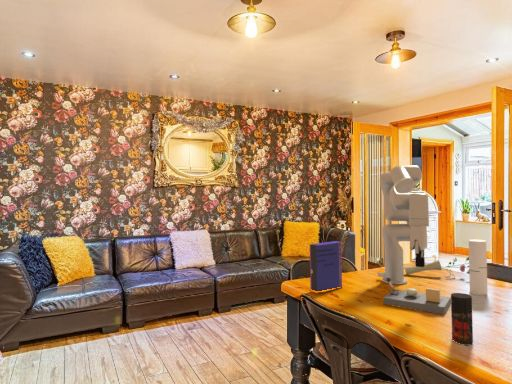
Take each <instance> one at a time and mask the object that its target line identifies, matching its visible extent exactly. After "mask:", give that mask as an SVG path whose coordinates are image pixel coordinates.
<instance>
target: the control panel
mask: <svg viewBox="0 0 512 384" xmlns="http://www.w3.org/2000/svg"><path fill="white" fill-rule="evenodd" d="M394 290H395V291H392V290H391V291H389V292H388V293H387V294H386V295H384V296H383V297H382V301H383V302H382V303H383V305H384V304H389V305H388V306H390V305H394V306H393V307H395V306H400V307H399V308H401V307H406V308H405V309H407V308H411V309H410V310H413V309H416V310H415V311H419V310H422V311H421V312H425V311H427V312H426V313H431V312H433V314H437V315H444V316H445V315H446V314H447V311H448V309H449V308H451V296H444V295H440V302H439V303H438V302H431V301H426V293H423V292H417V295H416V296H411V295H407V294H406V290H404V289H403V290H402V289H395V288H394Z"/></svg>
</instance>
